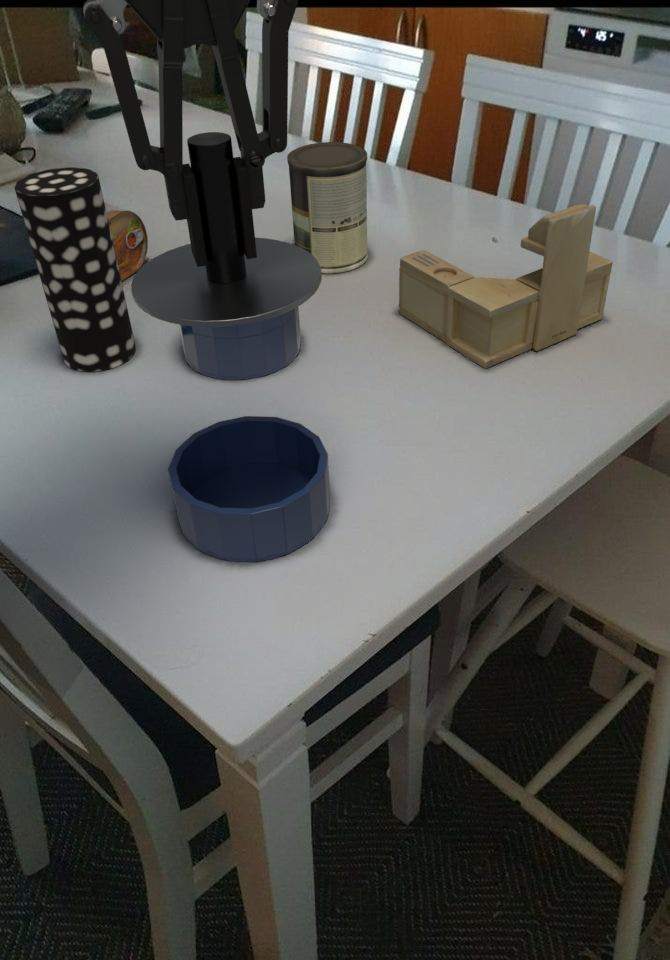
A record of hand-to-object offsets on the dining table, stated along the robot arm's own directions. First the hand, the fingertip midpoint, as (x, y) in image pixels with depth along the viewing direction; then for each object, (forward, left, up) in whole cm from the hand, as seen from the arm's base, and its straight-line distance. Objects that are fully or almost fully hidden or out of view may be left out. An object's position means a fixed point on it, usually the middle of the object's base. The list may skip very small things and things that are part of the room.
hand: (224, 254), depth 61 cm
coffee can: (+21, +45, -23) cm, 55 cm away
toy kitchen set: (+35, +21, -23) cm, 47 cm away
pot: (+4, +25, -23) cm, 34 cm away
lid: (0, 0, -2) cm, 2 cm away
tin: (-9, +49, -23) cm, 55 cm away
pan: (-1, -3, -23) cm, 23 cm away
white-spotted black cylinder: (-12, +30, -23) cm, 39 cm away
